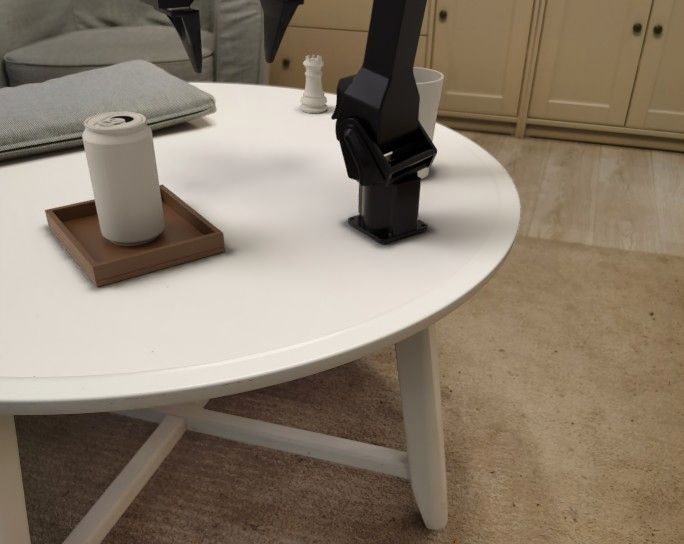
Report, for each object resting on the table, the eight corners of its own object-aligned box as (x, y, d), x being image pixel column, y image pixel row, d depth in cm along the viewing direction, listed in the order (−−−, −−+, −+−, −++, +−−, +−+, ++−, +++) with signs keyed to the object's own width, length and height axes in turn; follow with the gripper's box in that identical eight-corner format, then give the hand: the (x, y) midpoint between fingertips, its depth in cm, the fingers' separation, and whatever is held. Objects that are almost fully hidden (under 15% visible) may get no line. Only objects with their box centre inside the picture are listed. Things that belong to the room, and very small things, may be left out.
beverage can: (178, 231, 74) (164, 116, 67) (133, 255, 70) (112, 134, 63) (135, 217, 77) (117, 105, 70) (88, 238, 72) (64, 121, 66)
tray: (225, 251, 72) (223, 232, 71) (96, 287, 66) (92, 267, 64) (164, 201, 82) (162, 184, 81) (48, 228, 76) (44, 209, 75)
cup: (431, 185, 87) (441, 85, 80) (368, 180, 88) (371, 80, 82) (437, 163, 94) (446, 68, 87) (378, 158, 95) (382, 64, 88)
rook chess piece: (297, 112, 111) (295, 59, 107) (303, 104, 115) (302, 52, 111) (325, 114, 111) (325, 60, 106) (330, 106, 115) (330, 54, 110)
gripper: (264, -96, 83) (269, 45, 92) (107, -94, 74) (130, 63, 83) (316, -91, 75) (317, 63, 84) (149, -87, 66) (169, 84, 75)
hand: (234, 67), depth 82 cm, fingers open, 9 cm apart
